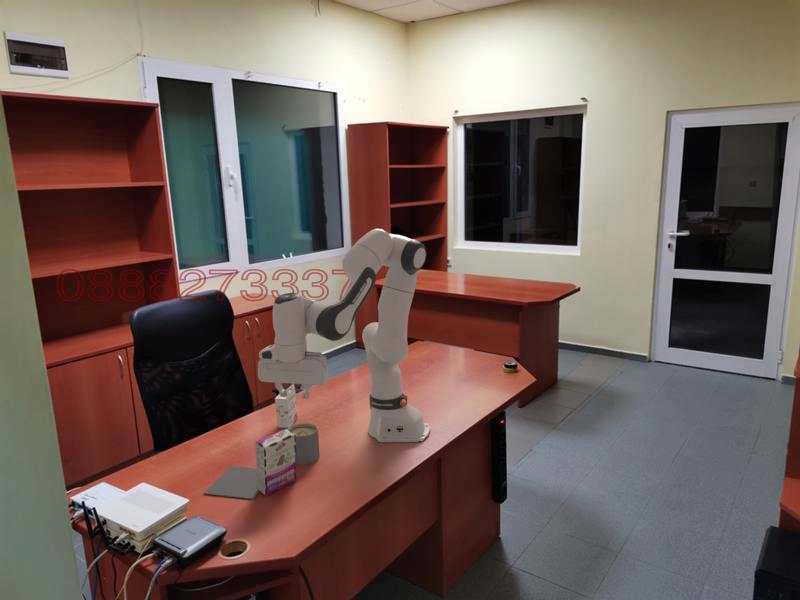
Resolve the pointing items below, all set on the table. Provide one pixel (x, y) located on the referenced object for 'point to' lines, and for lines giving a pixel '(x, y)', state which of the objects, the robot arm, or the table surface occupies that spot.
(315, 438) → the coffee mug
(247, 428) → the table surface
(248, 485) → the mat
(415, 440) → the robot arm
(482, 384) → the table surface
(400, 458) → the table surface
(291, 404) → the ink cartridge box
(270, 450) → the candy bar box
